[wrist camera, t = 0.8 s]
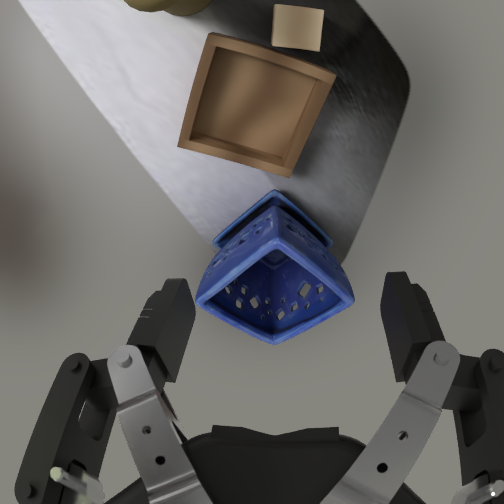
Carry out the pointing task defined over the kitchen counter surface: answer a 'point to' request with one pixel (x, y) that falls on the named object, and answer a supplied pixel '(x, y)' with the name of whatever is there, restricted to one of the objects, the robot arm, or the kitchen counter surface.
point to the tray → (253, 104)
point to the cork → (170, 6)
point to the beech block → (296, 27)
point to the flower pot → (274, 272)
